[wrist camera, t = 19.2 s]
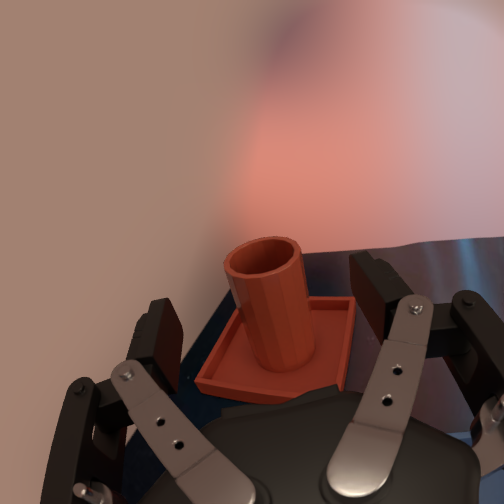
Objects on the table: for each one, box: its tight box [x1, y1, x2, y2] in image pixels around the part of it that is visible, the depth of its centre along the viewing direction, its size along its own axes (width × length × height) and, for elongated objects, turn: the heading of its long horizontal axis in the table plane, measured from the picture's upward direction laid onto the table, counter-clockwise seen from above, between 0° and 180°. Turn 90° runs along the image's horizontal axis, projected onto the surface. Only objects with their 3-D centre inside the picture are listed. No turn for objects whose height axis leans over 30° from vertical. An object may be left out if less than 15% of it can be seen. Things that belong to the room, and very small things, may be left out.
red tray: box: [194, 297, 356, 404], centre depth 30 cm, size 13×13×2 cm
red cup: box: [224, 236, 316, 373], centre depth 27 cm, size 6×6×11 cm
